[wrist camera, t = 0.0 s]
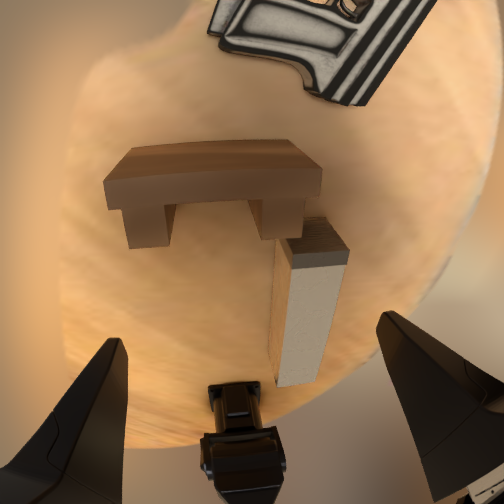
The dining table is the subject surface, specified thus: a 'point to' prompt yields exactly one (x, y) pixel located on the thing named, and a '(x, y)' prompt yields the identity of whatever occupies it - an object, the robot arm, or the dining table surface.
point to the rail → (304, 300)
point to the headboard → (212, 185)
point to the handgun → (323, 40)
